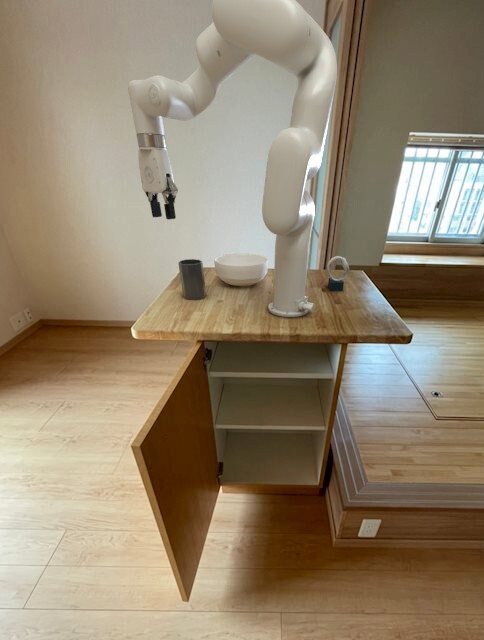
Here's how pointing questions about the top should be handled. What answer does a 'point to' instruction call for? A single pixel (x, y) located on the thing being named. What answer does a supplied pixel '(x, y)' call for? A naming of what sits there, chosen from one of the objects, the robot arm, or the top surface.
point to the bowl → (241, 268)
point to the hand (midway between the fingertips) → (164, 217)
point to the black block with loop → (337, 283)
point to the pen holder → (192, 279)
